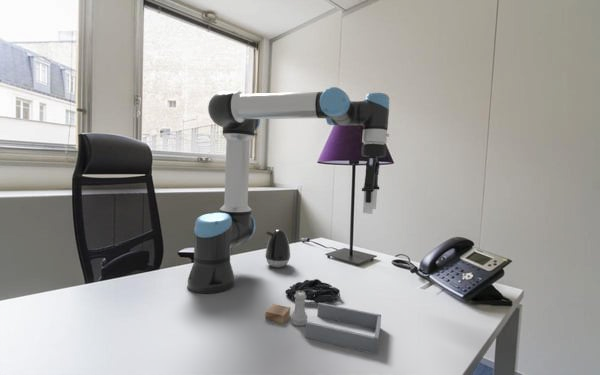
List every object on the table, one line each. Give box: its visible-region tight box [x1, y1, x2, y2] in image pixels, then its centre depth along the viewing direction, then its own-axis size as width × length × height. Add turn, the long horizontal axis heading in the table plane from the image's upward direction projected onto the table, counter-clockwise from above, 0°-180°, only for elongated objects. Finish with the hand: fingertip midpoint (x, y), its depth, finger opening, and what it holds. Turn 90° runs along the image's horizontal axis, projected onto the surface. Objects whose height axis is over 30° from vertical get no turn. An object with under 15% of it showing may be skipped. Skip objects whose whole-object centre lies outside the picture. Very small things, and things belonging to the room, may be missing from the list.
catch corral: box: [304, 303, 382, 355], centre depth 73 cm, size 17×12×4 cm
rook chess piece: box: [290, 291, 308, 327], centre depth 77 cm, size 4×4×8 cm
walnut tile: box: [265, 303, 291, 325], centre depth 79 cm, size 5×5×2 cm
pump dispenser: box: [265, 228, 291, 268], centre depth 121 cm, size 10×10×15 cm
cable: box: [285, 278, 341, 304], centre depth 95 cm, size 17×14×4 cm
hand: (369, 210), depth 94 cm, fingers open, 13 cm apart
